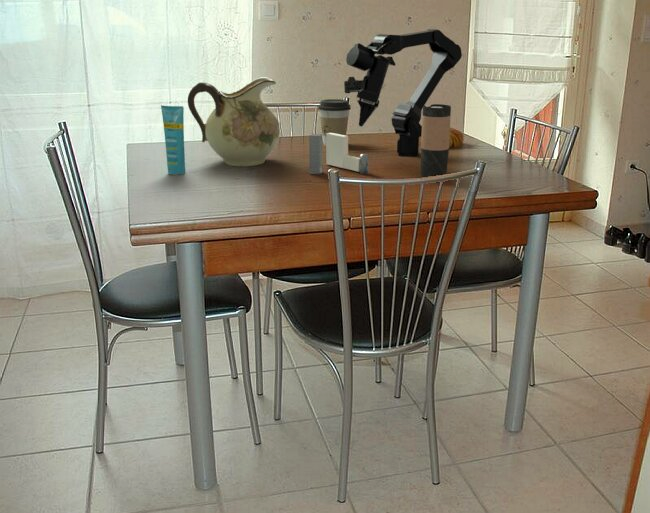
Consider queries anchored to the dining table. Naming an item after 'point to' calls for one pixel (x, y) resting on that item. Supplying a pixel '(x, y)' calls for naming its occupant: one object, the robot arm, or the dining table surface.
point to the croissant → (455, 138)
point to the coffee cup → (333, 116)
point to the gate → (340, 152)
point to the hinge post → (364, 163)
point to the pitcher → (238, 123)
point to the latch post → (315, 153)
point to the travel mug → (435, 139)
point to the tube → (174, 138)
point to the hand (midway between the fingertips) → (360, 126)
